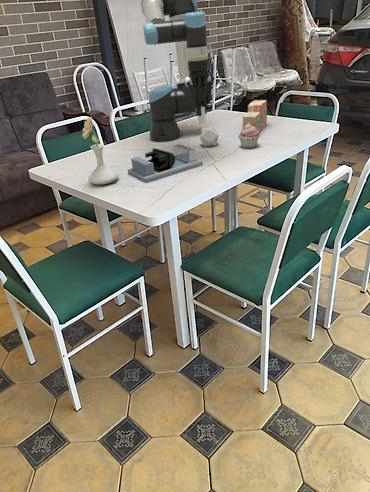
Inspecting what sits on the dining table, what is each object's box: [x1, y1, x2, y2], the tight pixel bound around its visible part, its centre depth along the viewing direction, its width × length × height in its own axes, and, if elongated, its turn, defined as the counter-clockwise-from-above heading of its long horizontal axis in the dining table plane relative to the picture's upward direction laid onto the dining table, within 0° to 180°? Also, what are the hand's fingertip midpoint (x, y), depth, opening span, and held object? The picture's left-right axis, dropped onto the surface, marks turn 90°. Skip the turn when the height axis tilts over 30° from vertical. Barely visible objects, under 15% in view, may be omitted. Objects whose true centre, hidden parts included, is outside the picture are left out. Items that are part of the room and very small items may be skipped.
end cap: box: [144, 148, 175, 172], centre depth 164 cm, size 10×7×7 cm
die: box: [199, 126, 220, 148], centre depth 189 cm, size 8×9×10 cm
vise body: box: [127, 156, 204, 184], centre depth 166 cm, size 14×26×6 cm, turn 124°
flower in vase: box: [82, 116, 119, 186], centre depth 155 cm, size 13×11×25 cm
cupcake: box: [238, 123, 261, 149], centre depth 182 cm, size 9×9×10 cm
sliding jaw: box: [173, 143, 197, 163], centre depth 171 cm, size 11×6×5 cm, turn 34°
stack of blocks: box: [242, 99, 268, 134], centre depth 202 cm, size 21×6×12 cm, turn 157°
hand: (202, 123), depth 169 cm, fingers closed
